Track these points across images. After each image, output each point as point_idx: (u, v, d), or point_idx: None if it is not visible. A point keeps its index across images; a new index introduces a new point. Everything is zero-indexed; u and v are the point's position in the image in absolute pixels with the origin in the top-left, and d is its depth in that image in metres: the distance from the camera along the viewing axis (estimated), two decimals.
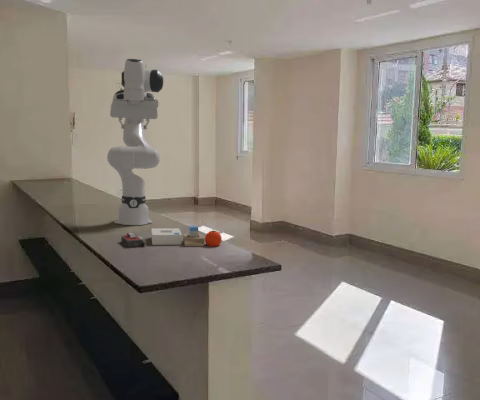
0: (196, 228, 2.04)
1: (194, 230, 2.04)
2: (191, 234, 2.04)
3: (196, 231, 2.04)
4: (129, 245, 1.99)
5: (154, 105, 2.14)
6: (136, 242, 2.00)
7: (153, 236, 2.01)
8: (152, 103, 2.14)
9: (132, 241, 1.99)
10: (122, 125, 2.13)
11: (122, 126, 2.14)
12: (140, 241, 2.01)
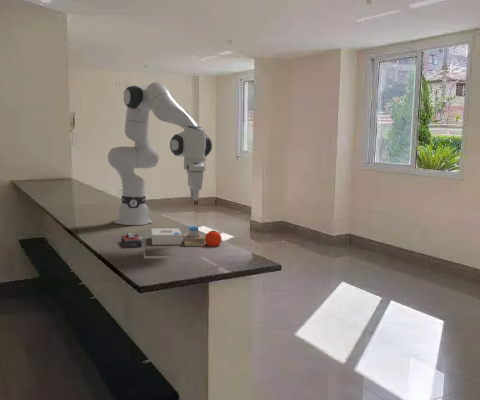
0: (196, 228, 2.04)
1: (194, 230, 2.04)
2: (191, 234, 2.04)
3: (196, 231, 2.04)
4: (126, 245, 1.99)
5: None
6: (133, 242, 2.00)
7: (153, 236, 2.01)
8: None
9: (129, 241, 1.99)
10: (197, 197, 1.99)
11: (197, 198, 1.99)
12: (137, 241, 2.00)
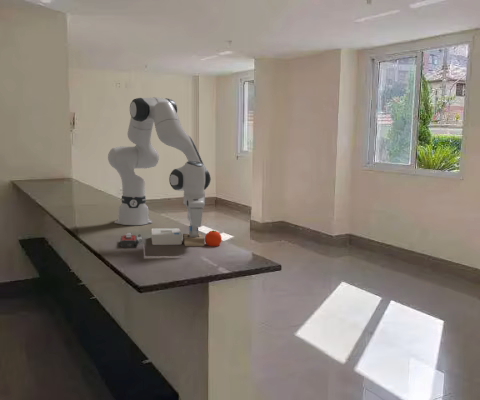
0: None
1: None
2: (191, 234, 2.04)
3: None
4: (121, 245, 1.99)
5: None
6: (128, 242, 1.99)
7: (153, 236, 2.01)
8: None
9: (124, 241, 1.99)
10: None
11: None
12: (133, 242, 1.99)
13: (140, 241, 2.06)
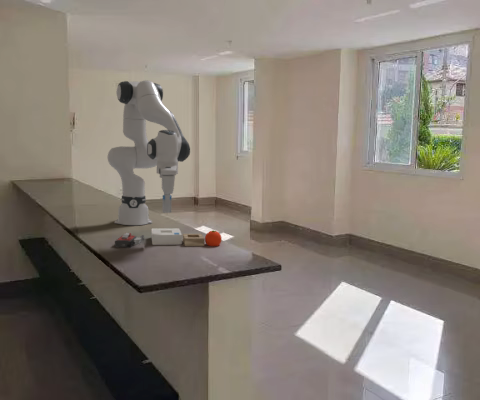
0: None
1: None
2: (164, 202, 2.05)
3: None
4: (115, 245, 1.99)
5: None
6: (122, 242, 1.99)
7: (153, 236, 2.01)
8: None
9: (118, 241, 1.99)
10: (169, 200, 2.04)
11: None
12: (126, 242, 1.99)
13: (137, 242, 2.05)
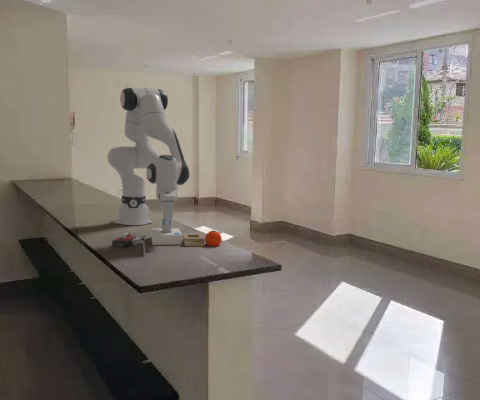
0: (169, 221, 2.06)
1: None
2: (164, 227, 2.06)
3: (169, 224, 2.06)
4: (113, 244, 1.99)
5: None
6: (119, 242, 1.99)
7: (153, 236, 2.01)
8: None
9: (115, 241, 1.99)
10: None
11: (168, 225, 2.05)
12: (123, 242, 1.98)
13: (136, 242, 2.04)
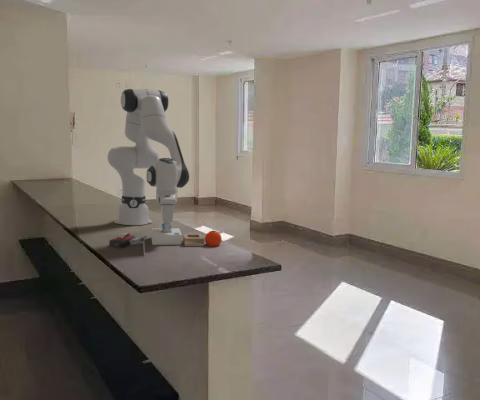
0: None
1: None
2: (164, 232, 2.06)
3: (169, 229, 2.07)
4: (110, 244, 2.00)
5: None
6: (116, 242, 1.99)
7: (153, 236, 2.01)
8: None
9: (112, 240, 1.99)
10: None
11: None
12: (119, 242, 1.98)
13: (133, 242, 2.04)
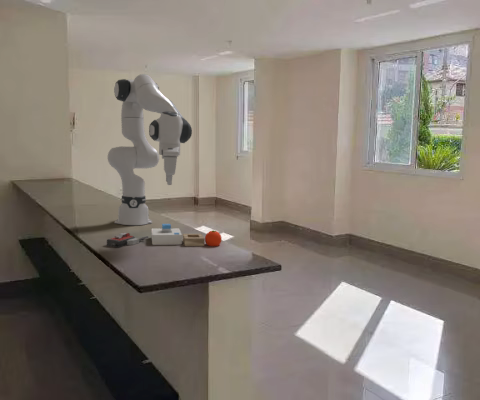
0: (169, 226, 2.07)
1: (167, 228, 2.07)
2: (164, 232, 2.06)
3: (169, 229, 2.07)
4: (107, 243, 2.01)
5: None
6: (112, 242, 1.99)
7: (153, 236, 2.01)
8: None
9: (109, 240, 2.00)
10: (171, 181, 2.04)
11: (171, 182, 2.04)
12: (115, 241, 1.99)
13: (131, 242, 2.03)
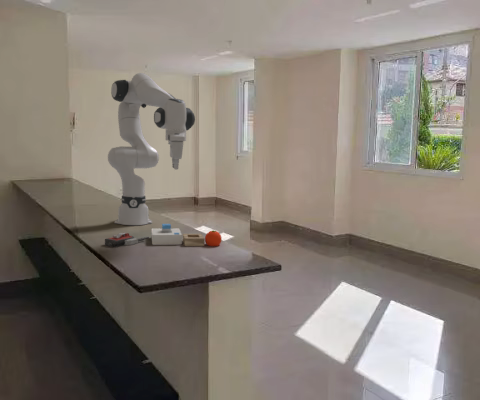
0: (169, 226, 2.07)
1: (167, 228, 2.07)
2: (164, 232, 2.06)
3: (169, 229, 2.07)
4: (105, 243, 2.02)
5: None
6: (109, 241, 2.00)
7: (153, 236, 2.01)
8: None
9: (107, 239, 2.01)
10: None
11: None
12: (112, 241, 1.99)
13: (129, 242, 2.03)
